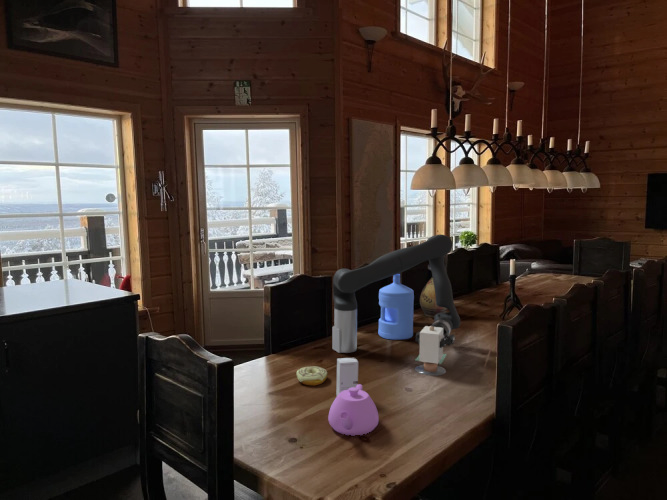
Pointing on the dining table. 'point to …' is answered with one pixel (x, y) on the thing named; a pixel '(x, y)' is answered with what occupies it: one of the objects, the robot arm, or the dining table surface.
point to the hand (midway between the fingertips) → (430, 343)
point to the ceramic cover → (431, 344)
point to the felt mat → (439, 361)
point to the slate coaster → (439, 372)
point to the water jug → (396, 311)
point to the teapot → (353, 412)
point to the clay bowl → (430, 367)
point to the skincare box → (346, 374)
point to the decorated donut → (311, 375)
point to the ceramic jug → (430, 299)
